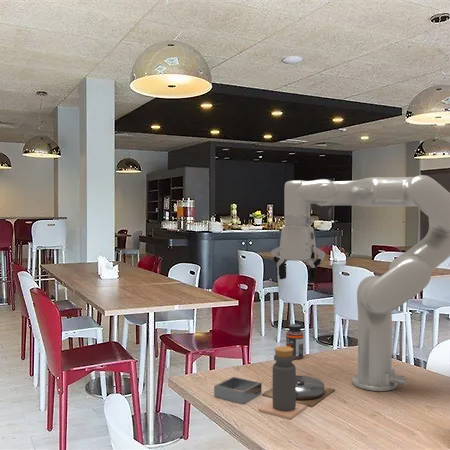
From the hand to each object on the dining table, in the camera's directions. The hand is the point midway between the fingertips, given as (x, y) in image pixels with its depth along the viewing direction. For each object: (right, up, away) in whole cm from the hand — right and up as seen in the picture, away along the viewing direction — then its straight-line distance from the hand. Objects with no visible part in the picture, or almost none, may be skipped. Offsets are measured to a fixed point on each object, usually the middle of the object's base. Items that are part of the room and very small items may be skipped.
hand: (297, 279), depth 150 cm
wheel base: (-1, -30, -9) cm, 32 cm away
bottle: (-6, -30, -21) cm, 38 cm away
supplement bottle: (+3, -30, +26) cm, 40 cm away
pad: (-7, -31, -21) cm, 38 cm away
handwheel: (-1, -30, -9) cm, 32 cm away
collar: (-18, -31, -11) cm, 37 cm away
